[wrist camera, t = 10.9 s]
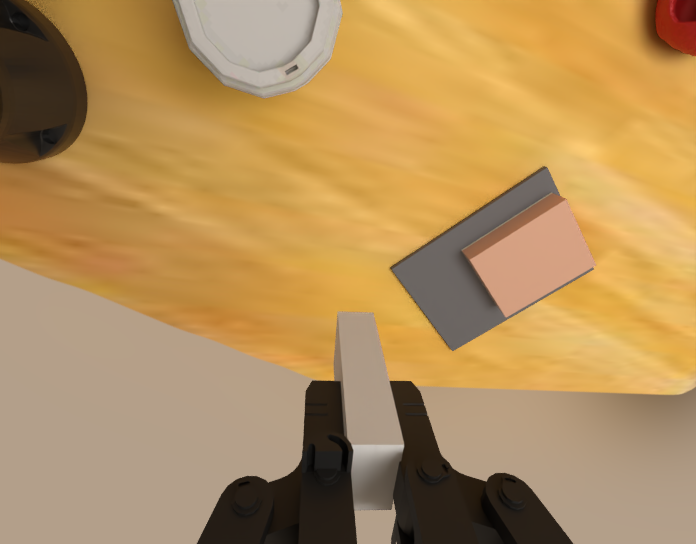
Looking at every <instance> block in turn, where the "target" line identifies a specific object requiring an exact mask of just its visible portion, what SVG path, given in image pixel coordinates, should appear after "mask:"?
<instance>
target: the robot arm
mask: <svg viewBox="0 0 696 544" xmlns="http://www.w3.org/2000/svg"><path fill="white" fill-rule="evenodd" d="M86 112H87V92H86V86H85V81H84V77H83V74H82V71H81V68H80V66H79V63H78V61H77V59H76V57H75V55H74V53H73V51H72V50H71V48H70V46H69V45H68V43H67V42H66V40H65V39H64V37H63V36H62V35H61V33H60V32H59V31H58V30H57V28H56V27H55V26H54V25H53V24H52V23H51V22H50V21H49V20H48V19H47V18H46V17H45V16H44V15H43V14H42V13H41V12H40V11H39V10H37V9H36V8H35V7H34V6H32V5H31V4H30V3H28V2H27V1H25V0H0V162H1V163H28V162H34V161H38V160H42V159H46V158H49V157H52V156H55V155H57V154H59V153H61V152H62V151H64V150H65V149H67V148H68V147H69V146H70V145H71V144H72V143H73V142H74V141H75V140H76V138H77V137H78V135H79V134H80V132H81V130H82V128H83V125H84V122H85V118H86ZM334 379H335V381H312V382H311V383H310V385H309V387H308V388H307V390H306V397H305V398H306V399H305V418H304V439H303V451H302V459H301V461H300V463H299V465H298V467H297V468H296V469H295V470H294V471H293V472H291V473H290V474H289V475H288V476H285V477H283V478H281V479H278V480H275V481H272V482H269V483H268V482H267V481H266V480H264V479H262V478H260V477H257V476H246V477H242V478H239V479H237V480H235V481H234V482H233V483H231V484H230V485H228V486H227V488H226V489H225V491H224V492H223V493H222V494H221V497H220V498H219V501H218V502H217V504H216V507H215V508H214V511H213V513H212V514H211V517H210V518H209V520H208V522H207V524H206V526H205V528H204V530H203V533H202V534H201V537H200V538H199V541H198V543H197V544H357V538H356V526H355V514H354V510H391V509H392V504H393V499H394V504H395V510H396V519H395V524H394V528H393V533H392V538H391V544H396V542H397V544H573V543H572V541H571V540H570V539H569V537H568V536H567V535H566V533H565V532H564V531H563V530H562V528H561V527H560V526H559V524H558V523H557V522H556V521H555V519H554V518H553V517H552V515H551V514H550V513H549V511H548V510H547V509H546V507H545V506H544V505H543V504H542V502H541V501H540V500H539V498H538V497H537V496H536V494H535V493H534V492H533V491H532V489H531V488H529V486H528V485H527V484H526V483H525V482H524V481H522V480H520V479H519V478H517V477H515V476H513V475H510V474H506V473H495V474H494V475H492V476H490V477H489V478H488V480H487V482H486V481H482V480H479V479H476V478H472V477H469V476H466V475H464V474H461V473H459V472H457V471H456V470H454V469H453V468H452V467H451V465H450V463H449V462H447V461H446V460H445V459H444V458H443V457H442V455H441V453H440V451H439V448H438V445H437V442H436V439H435V436H434V433H433V430H432V427H431V423H430V420H429V417H428V416H427V411H426V408H425V406H424V402H423V399H422V396H421V393H420V391H419V390H418V389H417V387H416V386H415V385H414V384H413V383H412V382H411V381H389V377H388V373H387V369H386V365H385V360H384V356H383V352H382V347H381V343H380V339H379V335H378V330H377V326H376V322H375V318H374V313H366V312H338V315H337V328H336V341H335V354H334Z"/></svg>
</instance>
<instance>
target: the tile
mask: <svg viewBox="0 0 696 544" xmlns="http://www.w3.org/2000/svg"><path fill="white" fill-rule="evenodd" d="M461 251H462V252H463V254H464V255H465V257H466V259H467V260H468V262H469V263H470V265H471V266H472V268H473V270H474V271H475V273H476V274H477V276H478V278H479V279H480V281H481V282H482V284H483V286H484V287H485V289H486V290H487V292H488V293H489V295H490V297H491V298H492V300H493V301H494V303H495V305H496V306H497V307H498V308H499V310H500V311H501V312H502V313H503V315H504V316H505V317H508V316H510V315H512V314H513V313H515V312H517V311H519V310H520V309H522V308H524V307H525V306H527V305H529V304H531V303H532V302H534V301H536V300H537V299H539V298H541V297H543V296H544V295H546V294H548V293H550V292H551V291H553V290H555V289H556V288H558V287H560V286H562V285H563V284H565V283H567V282H568V281H570V280H572V279H574V278H575V277H577V276H579V275H580V274H582V273H584V272H586V271H587V270H589V269H591V268H593V267H594V266H596V264H595V261H594V259H593V257H592V255H591V253H590V250H589V248H588V246H587V244H586V241H585V239H584V237H583V235H582V233H581V230H580V228H579V226H578V224H577V222H576V219H575V217H574V215H573V213H572V211H571V208H570V206H569V204H568V202H567V199H565V198H563V197H561V196H558V195H556V194H554V193H552V192H551V193H549V194H548V195H546V196H545V197H543V198H542V199H540V200H539V201H537V202H535V203H534V204H532V205H531V206H529V207H528V208H526V209H524V210H523V211H521V212H520V213H518V214H517V215H515V216H514V217H512V218H510V219H509V220H507V221H506V222H504V223H503V224H501V225H499V226H498V227H496V228H495V229H493V230H492V231H490V232H488V233H487V234H485V235H484V236H482V237H481V238H479V239H478V240H476V241H474V242H473V243H471V244H470V245H468V246H467V247H465V248H463V249H462V250H461Z"/></svg>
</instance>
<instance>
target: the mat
mask: <svg viewBox="0 0 696 544" xmlns="http://www.w3.org/2000/svg"><path fill="white" fill-rule="evenodd" d="M551 192H552V193H554V194H556V195H558V196H560V194H559V192H558V190H557V188H556V185H555V183H554V181H553V179H552V177H551V174H550V172H549V170H548V168H547V167H545V166H544V167H543V168H541V169H540V170H538V171H537V172H535V173H534V174H532V175H531V176H529V177H527V178H526V179H524V180H523V181H521V182H520V183H518V184H517V185H515V186H514V187H512V188H511V189H509V190H508V191H506V192H505V193H503V194H502V195H500V196H499V197H497V198H496V199H494V200H492V201H491V202H489V203H488V204H486V205H485V206H483V207H482V208H480V209H479V210H477V211H476V212H474V213H473V214H471V215H470V216H468V217H467V218H465V219H464V220H462V221H461V222H459V223H458V224H456V225H454V226H453V227H451V228H450V229H448V230H447V231H445V232H444V233H442V234H441V235H439V236H438V237H436V238H435V239H433V240H432V241H430V242H429V243H427V244H426V245H424V246H423V247H421V248H419V249H418V250H416V251H415V252H413V253H412V254H410V255H409V256H407V257H406V258H404V259H403V260H401V261H400V262H398V263H397V264H395V265H394V266H392V267H391V269H392V271H393V272H394V273H395V275H396V276H397V277H398V279H399V280H400V281H401V283H402V284H403V285H404V287H405V288H406V290H407V291H408V292H409V294H410V295H411V296H412V298H413V299H414V300H415V302H416V303H417V304H418V306H419V307H420V308H421V310H422V311H423V312H424V314H425V315H426V316H427V318H428V319H429V320H430V322H431V323H432V324H433V326H434V327H435V328H436V330H437V331H438V332H439V334H440V335H441V336H442V338H443V339H444V340H445V342H446V343H447V344H448V346H449V347H450V348H451V350H452V351H454V350H456V349H457V348H459V347H461V346H462V345H464V344H466V343H468V342H469V341H471V340H473V339H475V338H476V337H478V336H480V335H481V334H483V333H485V332H487V331H488V330H490V329H492V328H494V327H495V326H497V325H499V324H500V323H502V322H504V321H506V320H507V319H509V318H511V317H513V316H514V315H516V314H518V313H519V312H521V311H523V310H525V309H526V308H528V307H530V306H531V305H533V304H535V303H537V302H538V301H540V300H542V299H544V298H545V297H547V296H549V295H550V294H552V293H554V292H556V291H557V290H559V289H561V288H563V287H564V286H566V285H568V284H569V283H571V282H573V281H575V280H576V279H578V278H580V277H582V276H583V275H585V274H587V273H588V272H590V271H592V270H594V268H591V269H589V270H587V271H586V272H584V273H582V274H580V275H579V276H577V277H575V278H574V279H572V280H570V281H568V282H567V283H565V284H563V285H562V286H560V287H558V288H556V289H555V290H553V291H551V292H550V293H548V294H546V295H544V296H543V297H541V298H539V299H537V300H536V301H534V302H532V303H531V304H529V305H527V306H525V307H524V308H522V309H520V310H519V311H517V312H515V313H513V314H512V315H510V316H508V317H505V316H504V315H503V313H502V312H501V311H500V310H499V308H498V307H497V306H496V305H495V303H494V301H493V300H492V298H491V297H490V295H489V293H488V292H487V290H486V289H485V287H484V286H483V284H482V282H481V281H480V279H479V278H478V276H477V274H476V273H475V271H474V270H473V268H472V266H471V265H470V263H469V262H468V260H467V259H466V257H465V255H464V254H463V252H462V251H461V250H462V249H463V248H465V247H467V246H468V245H470V244H471V243H473V242H474V241H476V240H478V239H479V238H481V237H482V236H484V235H485V234H487V233H488V232H490V231H492V230H493V229H495V228H496V227H498V226H499V225H501V224H503V223H504V222H506V221H507V220H509V219H510V218H512V217H514V216H515V215H517V214H518V213H520V212H521V211H523V210H524V209H526V208H528V207H529V206H531V205H532V204H534V203H535V202H537V201H539V200H540V199H542V198H543V197H545V196H546V195H548V194H549V193H551Z"/></svg>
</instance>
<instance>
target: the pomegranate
mask: <svg viewBox="0 0 696 544" xmlns="http://www.w3.org/2000/svg"><path fill="white" fill-rule="evenodd" d="M655 20H656V30H657V34H658V36H659V37H660V38H661V39H663V40H664V41H666V42H667V43H668V44H669V45H670V46H671V47H672V48H674V49H677V50H680V51H681V52H683V53H685V54H690V55H692V56H696V0H658V2H657V6H656V16H655Z"/></svg>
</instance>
